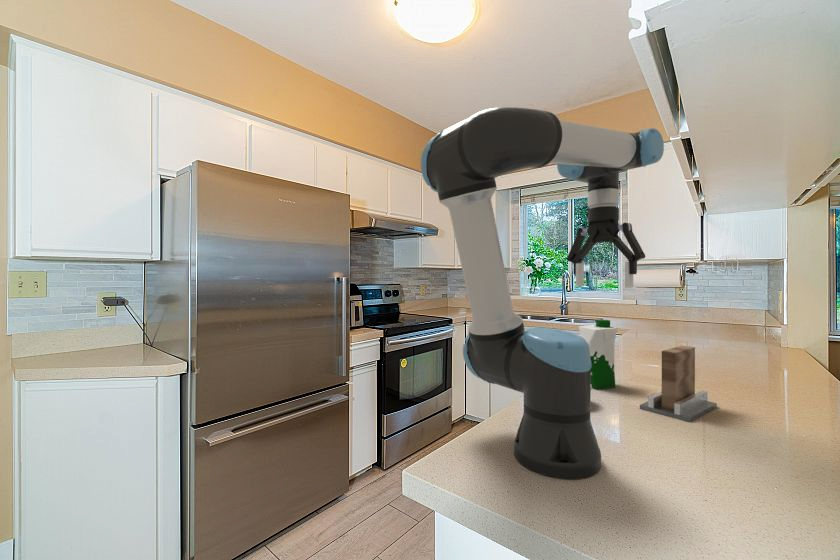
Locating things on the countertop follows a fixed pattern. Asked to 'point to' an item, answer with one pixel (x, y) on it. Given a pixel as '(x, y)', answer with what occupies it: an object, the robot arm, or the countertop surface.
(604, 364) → the milk carton
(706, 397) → the track
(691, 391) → the door panel
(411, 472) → the countertop surface
